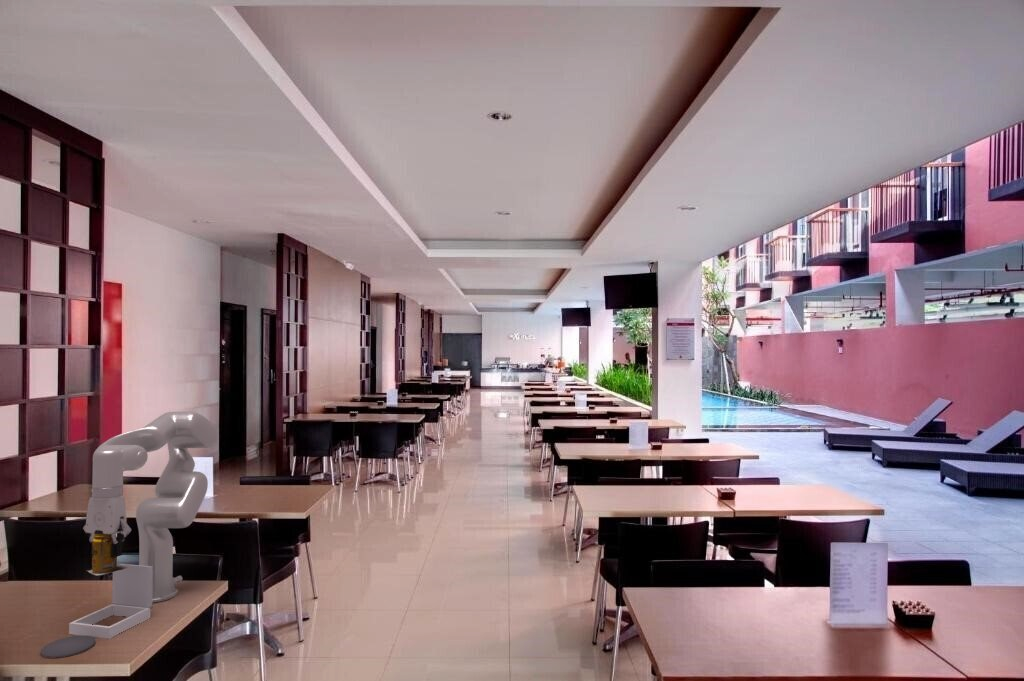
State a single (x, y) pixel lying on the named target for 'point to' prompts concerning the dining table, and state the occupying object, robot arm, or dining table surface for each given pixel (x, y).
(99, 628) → the case
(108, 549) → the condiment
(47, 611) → the dining table surface
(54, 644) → the mat
